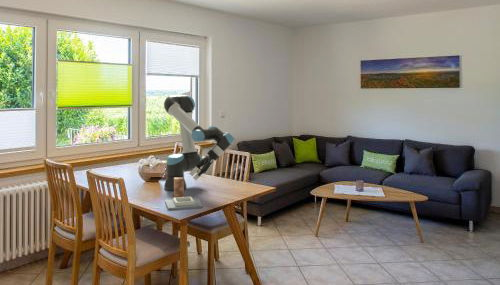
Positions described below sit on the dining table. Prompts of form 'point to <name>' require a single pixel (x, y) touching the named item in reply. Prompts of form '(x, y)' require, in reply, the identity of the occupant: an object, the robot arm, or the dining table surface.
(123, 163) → the dining table surface
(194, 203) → the baseplate
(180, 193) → the pillar
